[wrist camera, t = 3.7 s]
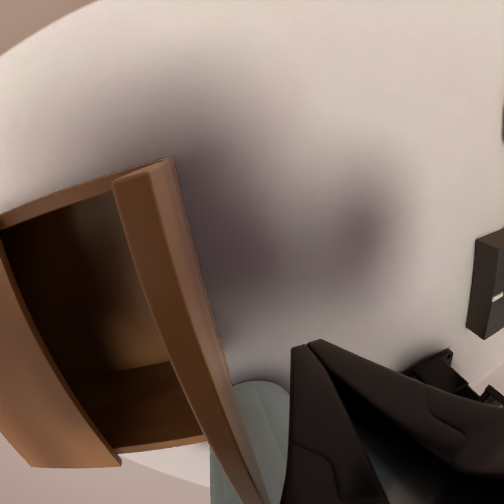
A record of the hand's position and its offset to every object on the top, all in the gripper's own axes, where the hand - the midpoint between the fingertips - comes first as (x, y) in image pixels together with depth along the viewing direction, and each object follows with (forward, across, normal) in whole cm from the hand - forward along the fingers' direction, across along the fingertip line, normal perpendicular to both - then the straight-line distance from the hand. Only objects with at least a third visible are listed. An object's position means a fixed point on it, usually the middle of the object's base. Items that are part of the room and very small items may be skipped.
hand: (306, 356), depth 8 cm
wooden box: (+9, +8, 0) cm, 12 cm away
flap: (-1, +3, 0) cm, 3 cm away
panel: (+9, -21, +8) cm, 24 cm away
